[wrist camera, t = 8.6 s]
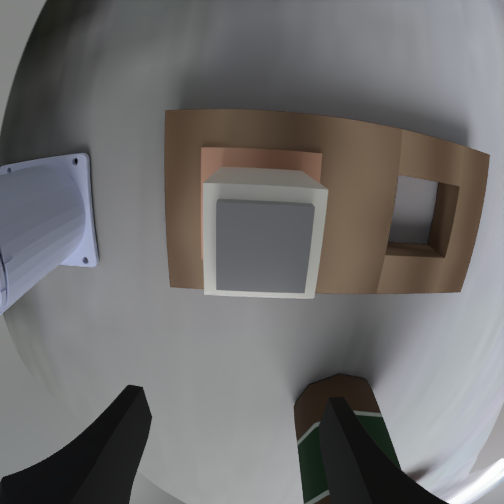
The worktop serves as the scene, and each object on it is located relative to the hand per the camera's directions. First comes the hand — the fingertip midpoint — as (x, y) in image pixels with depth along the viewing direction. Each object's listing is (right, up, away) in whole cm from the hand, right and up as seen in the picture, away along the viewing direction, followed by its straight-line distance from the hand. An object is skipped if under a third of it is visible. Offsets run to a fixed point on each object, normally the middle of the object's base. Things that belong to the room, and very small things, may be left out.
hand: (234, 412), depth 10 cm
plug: (+1, +8, +5) cm, 10 cm away
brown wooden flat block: (+6, +9, +8) cm, 13 cm away
